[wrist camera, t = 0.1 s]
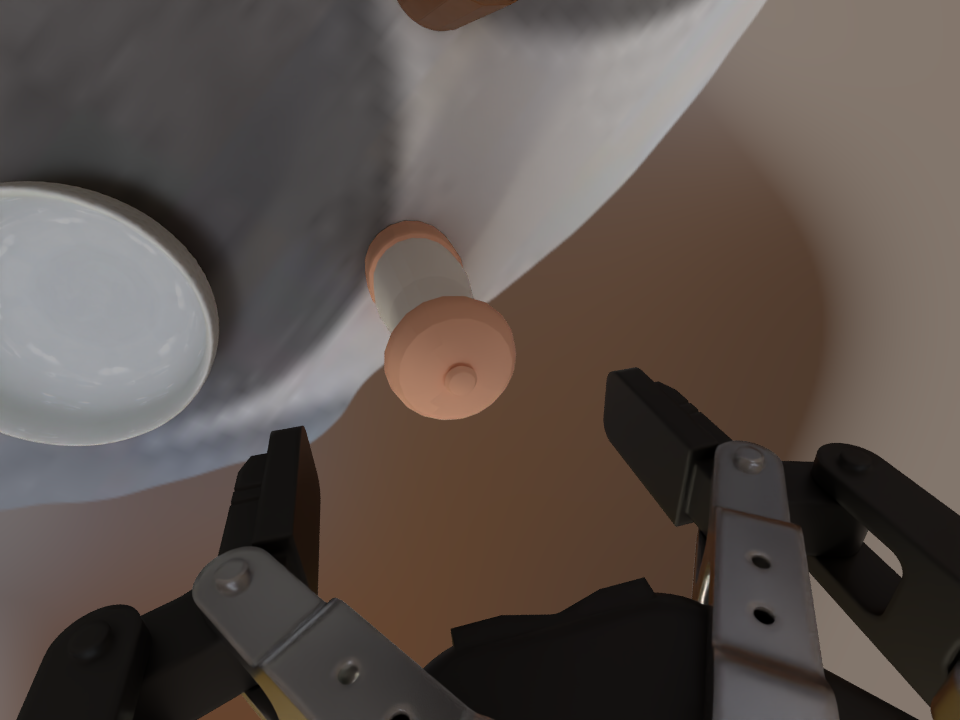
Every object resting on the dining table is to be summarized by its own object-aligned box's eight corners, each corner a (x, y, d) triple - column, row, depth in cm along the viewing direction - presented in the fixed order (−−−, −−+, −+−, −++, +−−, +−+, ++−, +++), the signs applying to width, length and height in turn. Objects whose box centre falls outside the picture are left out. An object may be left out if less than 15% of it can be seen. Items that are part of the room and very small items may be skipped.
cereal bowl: (122, 120, 32) (74, 129, 26) (277, 331, 41) (268, 373, 35) (-124, 242, 32) (-229, 279, 26) (85, 428, 41) (42, 488, 35)
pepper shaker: (358, 302, 42) (375, 443, 25) (372, 212, 39) (401, 305, 22) (445, 313, 44) (512, 450, 27) (464, 229, 41) (552, 326, 25)
